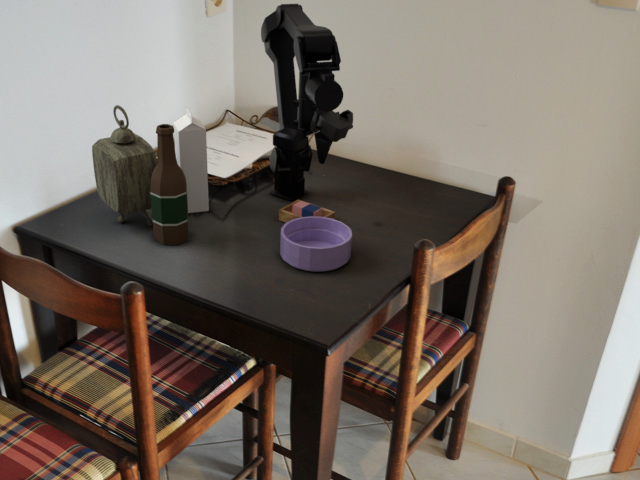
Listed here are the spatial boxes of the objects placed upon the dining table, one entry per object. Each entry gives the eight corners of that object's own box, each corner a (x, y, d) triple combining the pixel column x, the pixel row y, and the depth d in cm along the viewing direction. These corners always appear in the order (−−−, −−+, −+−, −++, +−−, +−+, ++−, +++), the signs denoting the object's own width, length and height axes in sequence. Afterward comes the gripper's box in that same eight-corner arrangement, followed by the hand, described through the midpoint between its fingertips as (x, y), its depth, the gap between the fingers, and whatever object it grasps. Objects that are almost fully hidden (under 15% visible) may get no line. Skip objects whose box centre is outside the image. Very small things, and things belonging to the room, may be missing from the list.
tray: (278, 219, 168) (278, 209, 166) (298, 209, 173) (298, 199, 171) (315, 233, 163) (316, 222, 161) (334, 222, 167) (335, 211, 166)
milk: (183, 214, 170) (176, 117, 157) (178, 203, 174) (171, 108, 162) (209, 211, 171) (205, 114, 158) (204, 200, 176) (199, 105, 163)
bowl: (266, 258, 153) (266, 233, 150) (307, 233, 162) (308, 210, 159) (323, 280, 146) (324, 255, 143) (363, 254, 155) (365, 230, 152)
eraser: (291, 217, 168) (292, 204, 166) (300, 212, 170) (300, 200, 168) (313, 225, 165) (314, 212, 163) (321, 220, 167) (322, 207, 165)
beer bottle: (196, 232, 162) (191, 122, 148) (180, 248, 156) (174, 135, 142) (163, 226, 164) (155, 117, 150) (146, 242, 158) (137, 129, 144)
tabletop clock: (162, 227, 164) (154, 113, 149) (123, 237, 160) (111, 120, 145) (135, 203, 174) (124, 94, 159) (97, 212, 169) (83, 100, 155)
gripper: (317, 115, 142) (313, 193, 151) (371, 93, 154) (364, 166, 163) (271, 103, 147) (270, 179, 156) (326, 83, 160) (322, 154, 168)
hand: (309, 169), depth 161 cm, fingers open, 9 cm apart
